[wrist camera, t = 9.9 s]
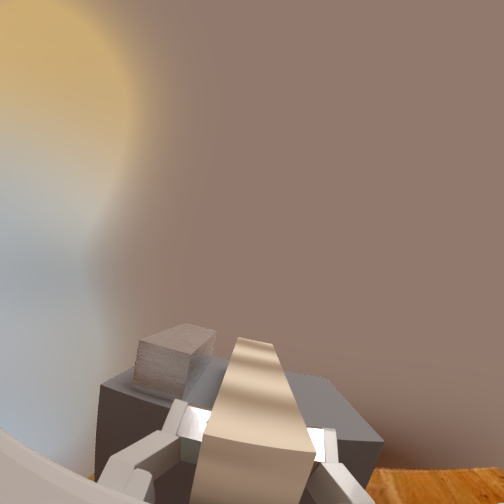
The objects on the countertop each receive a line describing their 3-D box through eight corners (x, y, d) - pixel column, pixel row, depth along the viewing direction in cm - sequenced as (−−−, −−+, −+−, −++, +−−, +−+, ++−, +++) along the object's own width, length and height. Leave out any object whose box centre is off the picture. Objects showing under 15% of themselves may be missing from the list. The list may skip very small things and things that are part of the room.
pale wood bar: (181, 404, 16) (191, 354, 16) (131, 388, 16) (139, 339, 16) (210, 362, 28) (217, 330, 28) (178, 354, 28) (185, 322, 28)
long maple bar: (288, 528, 7) (317, 452, 7) (187, 512, 7) (202, 433, 7) (264, 376, 26) (272, 344, 27) (231, 369, 26) (238, 337, 27)
